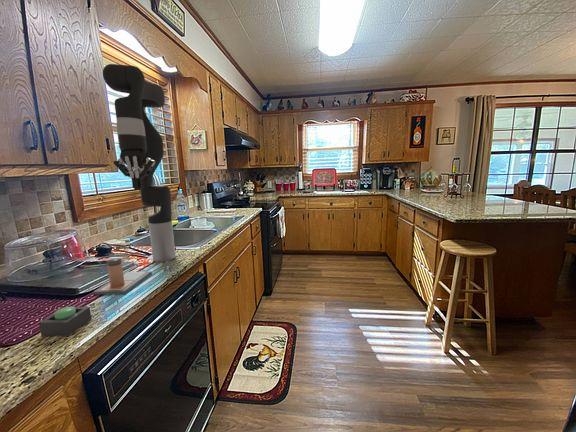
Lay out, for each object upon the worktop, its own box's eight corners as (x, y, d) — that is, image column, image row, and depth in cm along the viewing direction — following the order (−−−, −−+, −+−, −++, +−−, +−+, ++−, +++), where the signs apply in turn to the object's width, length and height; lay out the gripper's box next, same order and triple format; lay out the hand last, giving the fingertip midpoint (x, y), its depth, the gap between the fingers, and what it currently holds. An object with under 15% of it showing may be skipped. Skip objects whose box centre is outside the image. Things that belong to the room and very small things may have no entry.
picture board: (126, 274, 95) (125, 271, 95) (151, 273, 95) (151, 271, 95) (93, 294, 80) (93, 291, 79) (124, 294, 80) (124, 290, 79)
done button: (65, 313, 64) (64, 306, 64) (80, 313, 64) (79, 306, 64) (50, 322, 61) (49, 315, 60) (66, 322, 61) (65, 315, 60)
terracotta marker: (110, 284, 84) (106, 259, 83) (124, 281, 86) (121, 257, 85) (110, 289, 81) (106, 263, 79) (124, 285, 83) (121, 260, 81)
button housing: (66, 319, 66) (64, 307, 66) (91, 318, 66) (89, 306, 66) (41, 335, 60) (38, 322, 59) (69, 335, 60) (66, 322, 59)
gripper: (158, 136, 82) (164, 188, 85) (119, 136, 82) (126, 189, 85) (145, 132, 74) (152, 190, 77) (102, 133, 74) (110, 191, 77)
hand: (138, 189), depth 81 cm, fingers closed
